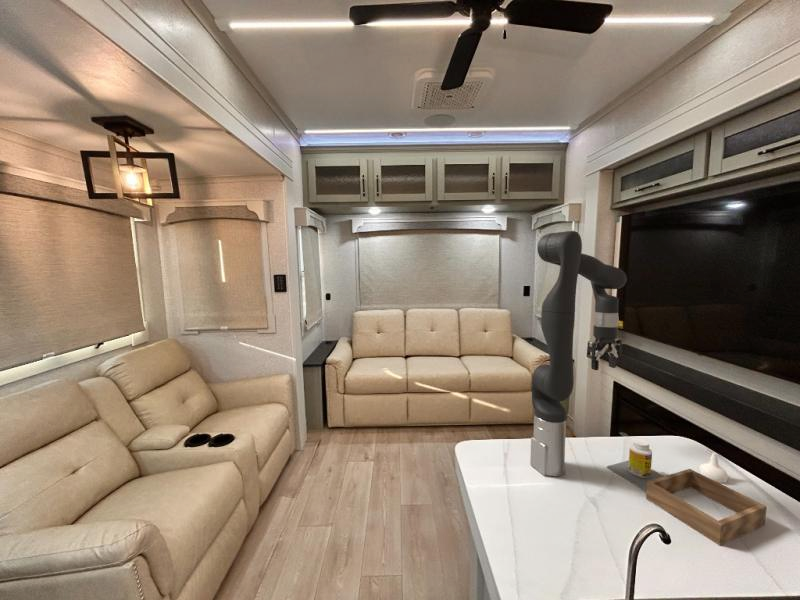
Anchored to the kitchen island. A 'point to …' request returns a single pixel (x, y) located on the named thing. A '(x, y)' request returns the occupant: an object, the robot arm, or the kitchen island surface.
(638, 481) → the mat
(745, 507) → the crate frame
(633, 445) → the supplement bottle
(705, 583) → the kitchen island surface
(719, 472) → the garlic bulb
